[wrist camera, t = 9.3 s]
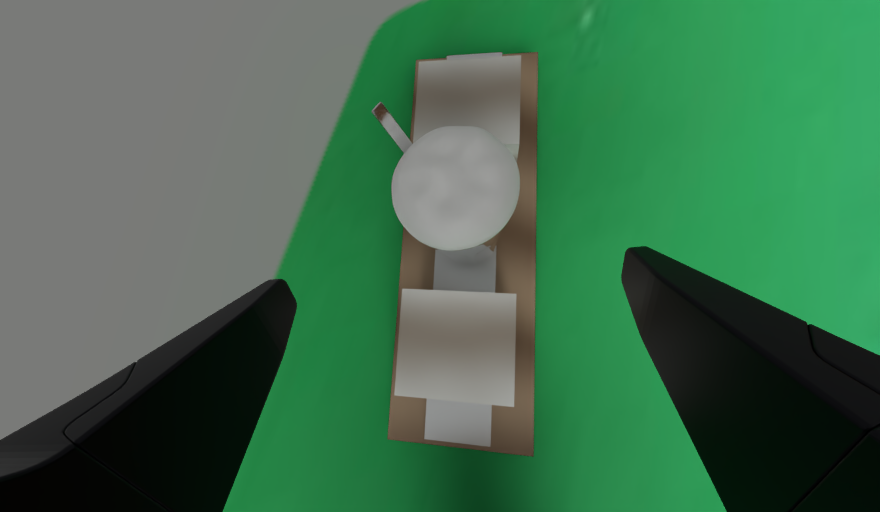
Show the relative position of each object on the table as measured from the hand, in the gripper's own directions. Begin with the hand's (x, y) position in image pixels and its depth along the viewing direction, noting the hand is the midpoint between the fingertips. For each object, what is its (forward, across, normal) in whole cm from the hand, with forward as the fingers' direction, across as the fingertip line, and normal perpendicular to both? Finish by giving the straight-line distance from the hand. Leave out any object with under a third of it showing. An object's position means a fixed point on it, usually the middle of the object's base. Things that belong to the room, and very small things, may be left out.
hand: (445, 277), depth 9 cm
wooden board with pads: (+12, 0, +6) cm, 13 cm away
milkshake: (+10, 0, +5) cm, 11 cm away
